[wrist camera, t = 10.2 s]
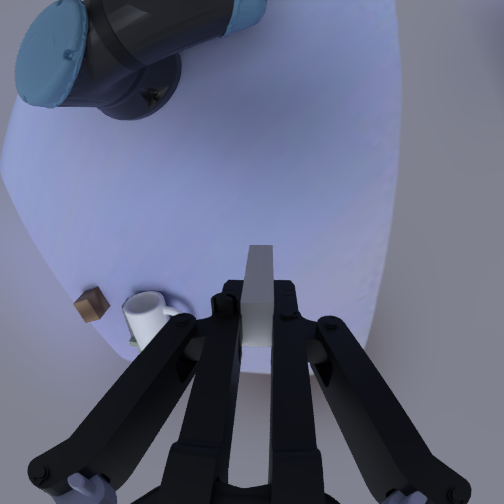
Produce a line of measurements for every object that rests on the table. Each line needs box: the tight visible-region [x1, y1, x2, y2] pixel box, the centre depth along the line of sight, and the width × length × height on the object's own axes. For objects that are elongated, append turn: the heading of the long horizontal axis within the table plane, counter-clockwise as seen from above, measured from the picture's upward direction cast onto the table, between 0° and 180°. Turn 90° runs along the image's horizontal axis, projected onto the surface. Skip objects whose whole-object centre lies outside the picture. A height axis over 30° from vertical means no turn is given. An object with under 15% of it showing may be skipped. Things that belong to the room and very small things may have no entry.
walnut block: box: [74, 287, 110, 323], centre depth 49 cm, size 5×5×5 cm
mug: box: [124, 291, 182, 351], centre depth 48 cm, size 12×10×8 cm
